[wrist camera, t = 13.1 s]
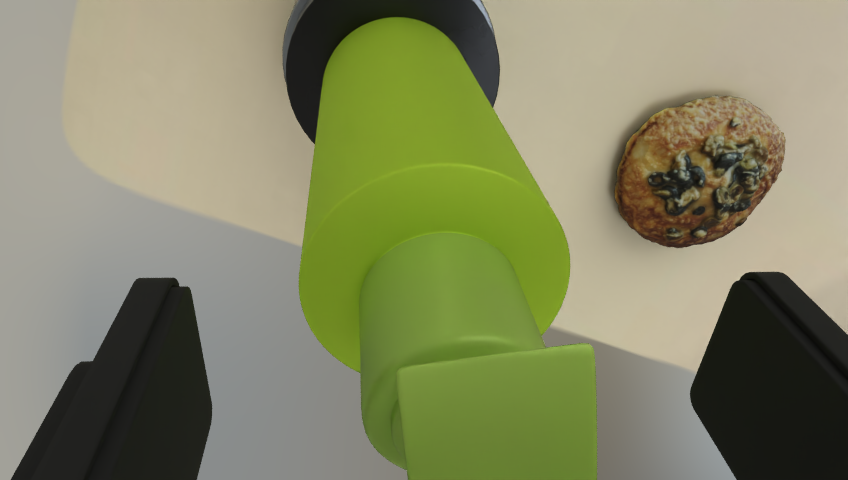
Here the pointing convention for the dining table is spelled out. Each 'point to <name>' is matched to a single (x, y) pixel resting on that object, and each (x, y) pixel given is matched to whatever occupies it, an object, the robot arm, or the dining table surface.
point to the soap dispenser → (440, 269)
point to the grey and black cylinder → (362, 3)
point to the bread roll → (698, 170)
